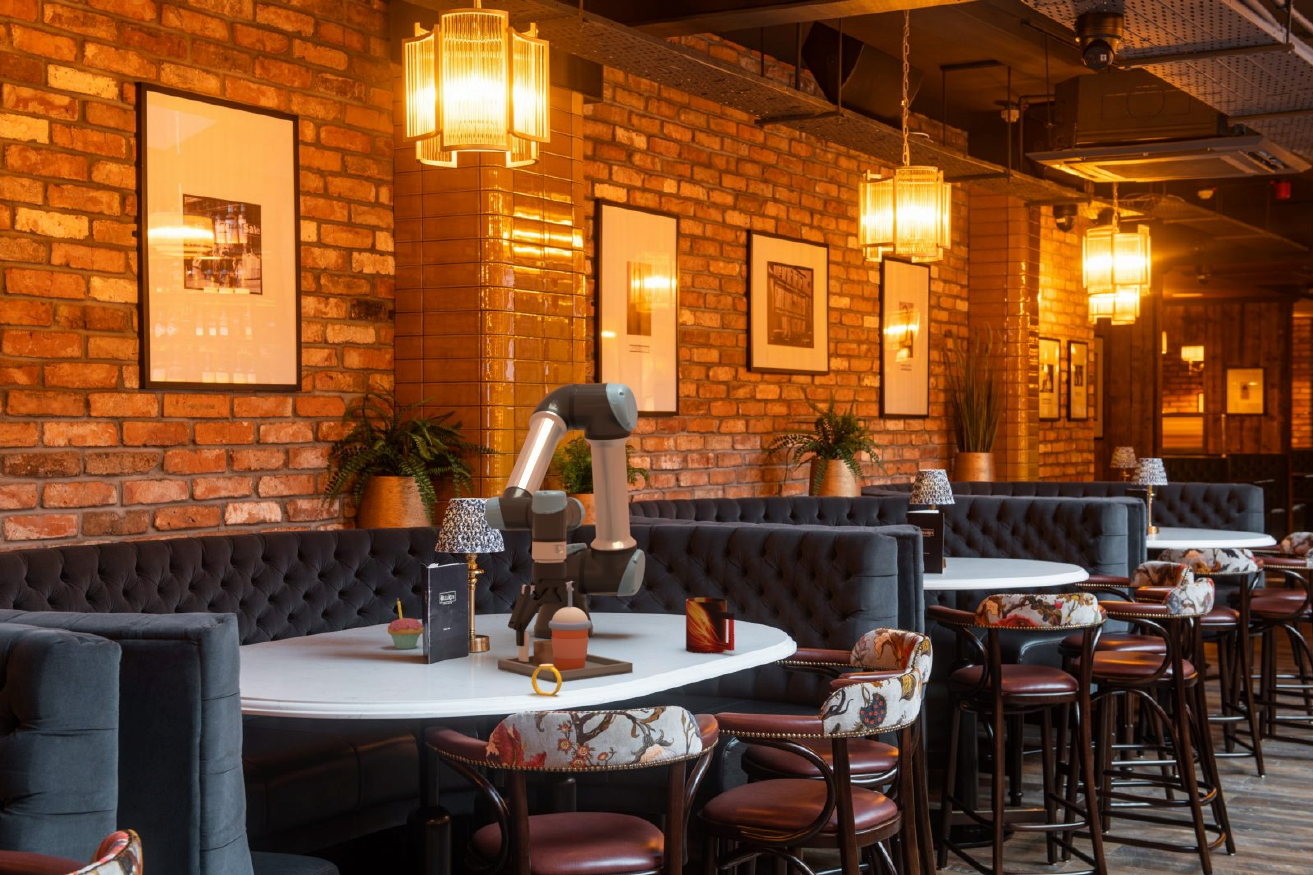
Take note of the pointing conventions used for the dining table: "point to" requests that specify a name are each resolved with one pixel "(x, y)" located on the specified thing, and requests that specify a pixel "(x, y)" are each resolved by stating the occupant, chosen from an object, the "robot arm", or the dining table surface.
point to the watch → (557, 674)
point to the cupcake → (405, 631)
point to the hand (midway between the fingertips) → (549, 658)
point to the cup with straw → (569, 636)
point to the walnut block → (543, 652)
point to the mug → (708, 625)
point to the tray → (593, 668)
